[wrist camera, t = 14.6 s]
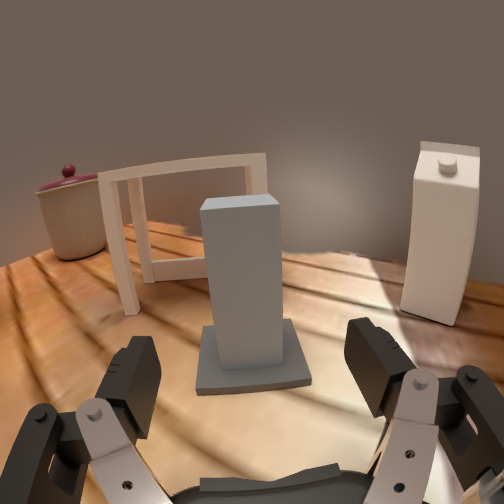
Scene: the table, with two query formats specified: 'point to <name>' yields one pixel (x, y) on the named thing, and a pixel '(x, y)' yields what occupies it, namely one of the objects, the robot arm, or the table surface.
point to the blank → (245, 279)
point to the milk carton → (441, 230)
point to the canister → (73, 214)
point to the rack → (114, 226)
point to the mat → (255, 379)
